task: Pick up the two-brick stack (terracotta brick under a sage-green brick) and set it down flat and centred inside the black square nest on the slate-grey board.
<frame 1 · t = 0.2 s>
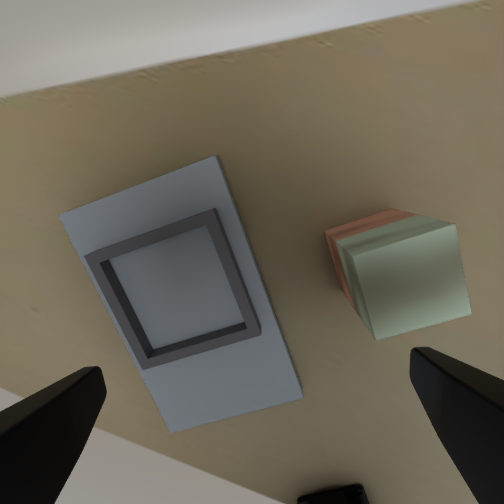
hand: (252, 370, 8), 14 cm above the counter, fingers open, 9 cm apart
brick stack: (365, 251, 21), on the counter
nest board: (193, 306, 23), on the counter
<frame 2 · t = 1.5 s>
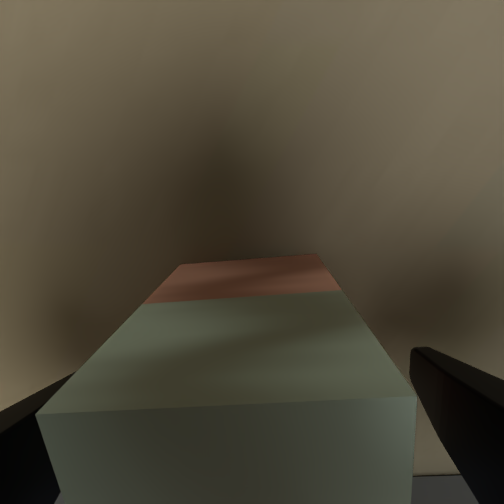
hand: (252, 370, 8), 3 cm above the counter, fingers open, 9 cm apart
brick stack: (253, 320, 11), on the counter
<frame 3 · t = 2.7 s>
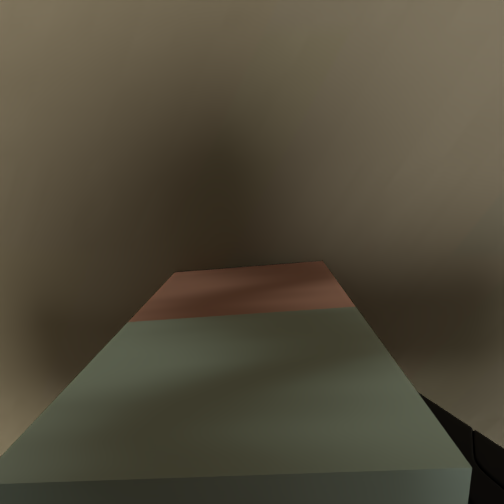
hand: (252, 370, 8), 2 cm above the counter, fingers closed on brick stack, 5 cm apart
brick stack: (254, 333, 10), on the counter, touching gripper
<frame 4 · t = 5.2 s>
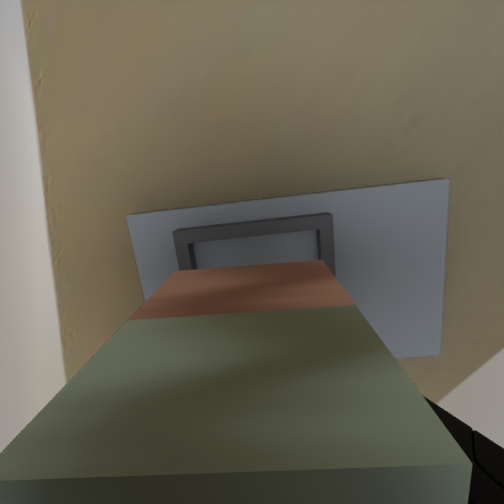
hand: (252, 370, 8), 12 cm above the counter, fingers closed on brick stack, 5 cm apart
brick stack: (254, 332, 10), point 10 cm above the counter, touching gripper
nest board: (288, 281, 20), on the counter
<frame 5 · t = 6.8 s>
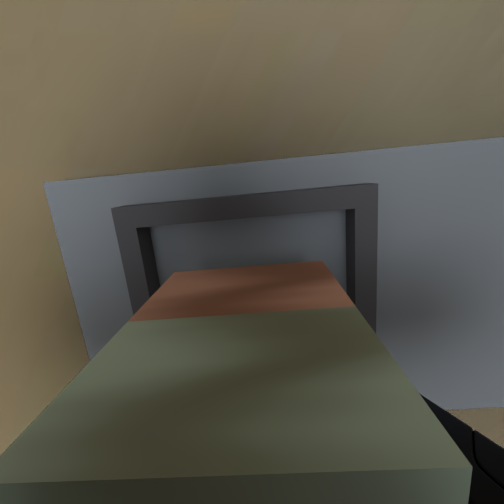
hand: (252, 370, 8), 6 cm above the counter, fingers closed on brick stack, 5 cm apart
brick stack: (254, 333, 10), point 4 cm above the counter, touching gripper
nest board: (296, 291, 14), on the counter
when the fingers open (5 cm above the counter, at t = 7.9 s): brick stack drops 1 cm, resting on nest board.
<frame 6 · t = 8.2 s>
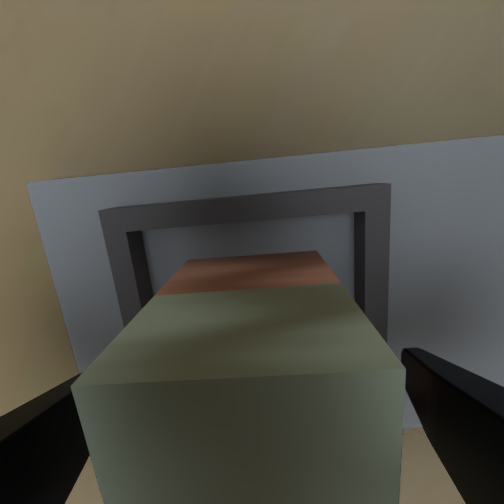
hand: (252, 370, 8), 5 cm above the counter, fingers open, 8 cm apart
brick stack: (256, 314, 12), point 1 cm above the counter, touching nest board
nest board: (300, 299, 13), on the counter
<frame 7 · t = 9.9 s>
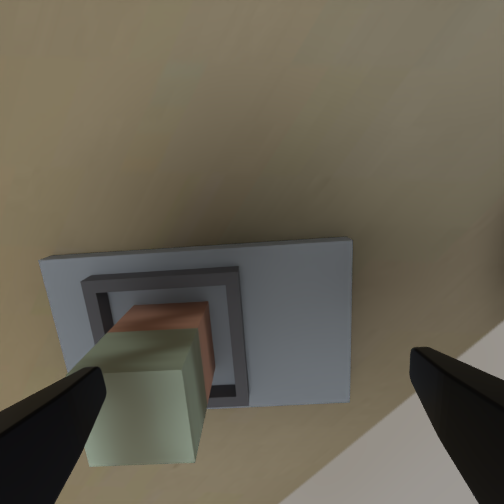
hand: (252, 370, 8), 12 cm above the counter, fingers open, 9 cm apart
brick stack: (175, 336, 20), point 1 cm above the counter, touching nest board
nest board: (206, 326, 21), on the counter
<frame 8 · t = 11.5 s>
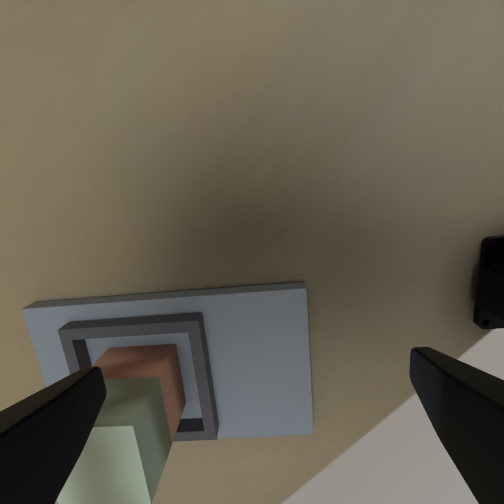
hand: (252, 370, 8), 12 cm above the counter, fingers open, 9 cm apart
brick stack: (148, 375, 21), point 1 cm above the counter, touching nest board
nest board: (178, 364, 22), on the counter
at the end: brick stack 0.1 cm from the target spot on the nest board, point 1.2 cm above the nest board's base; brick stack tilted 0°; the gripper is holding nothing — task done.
